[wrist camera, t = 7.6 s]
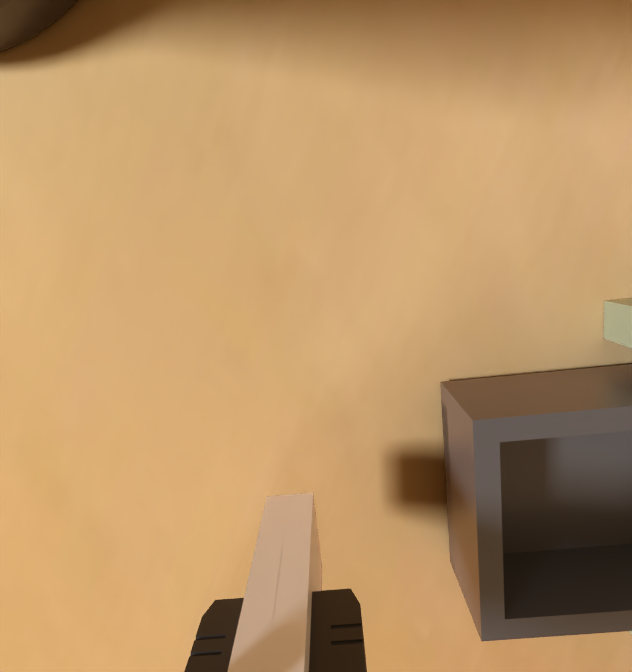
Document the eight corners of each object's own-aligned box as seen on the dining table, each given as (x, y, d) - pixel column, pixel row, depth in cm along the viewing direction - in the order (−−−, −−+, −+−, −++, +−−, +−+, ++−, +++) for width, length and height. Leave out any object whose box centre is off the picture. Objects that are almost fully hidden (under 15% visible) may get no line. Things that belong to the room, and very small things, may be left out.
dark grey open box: (440, 381, 18) (472, 420, 14) (702, 357, 18) (811, 389, 14) (450, 561, 19) (481, 641, 16) (691, 542, 19) (786, 619, 15)
